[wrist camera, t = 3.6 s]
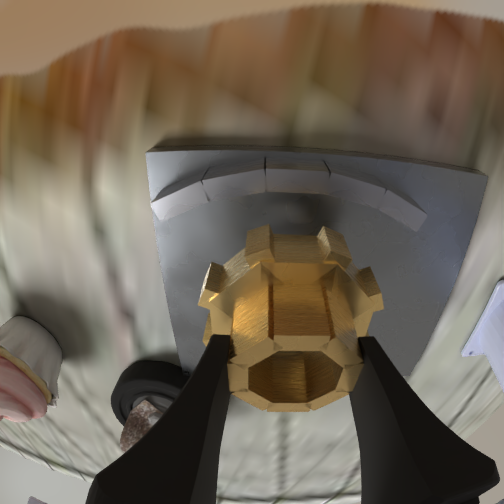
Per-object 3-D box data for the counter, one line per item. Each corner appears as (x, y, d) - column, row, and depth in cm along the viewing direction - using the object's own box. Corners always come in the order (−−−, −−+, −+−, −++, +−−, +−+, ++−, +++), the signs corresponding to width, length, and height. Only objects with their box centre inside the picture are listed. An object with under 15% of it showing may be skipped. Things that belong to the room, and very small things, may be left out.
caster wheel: (166, 329, 26) (242, 400, 28) (92, 382, 27) (162, 439, 30) (147, 379, 19) (242, 454, 22) (67, 428, 21) (151, 486, 23)
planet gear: (385, 227, 12) (428, 299, 8) (351, 350, 16) (365, 422, 12) (200, 220, 12) (172, 295, 9) (212, 348, 16) (200, 422, 13)
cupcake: (59, 381, 28) (26, 456, 19) (-6, 326, 24) (-52, 396, 16) (93, 354, 24) (52, 451, 16) (12, 284, 21) (-53, 371, 12)
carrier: (479, 170, 14) (514, 195, 11) (406, 366, 23) (417, 400, 20) (152, 147, 15) (124, 168, 12) (185, 365, 24) (176, 402, 21)
